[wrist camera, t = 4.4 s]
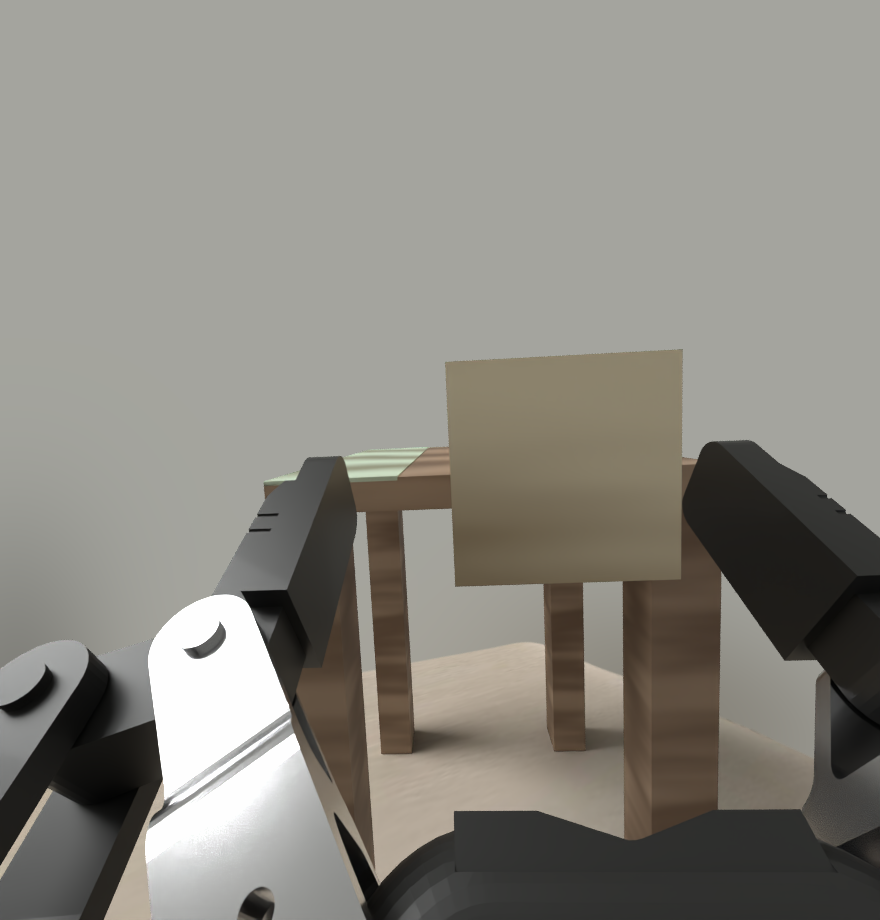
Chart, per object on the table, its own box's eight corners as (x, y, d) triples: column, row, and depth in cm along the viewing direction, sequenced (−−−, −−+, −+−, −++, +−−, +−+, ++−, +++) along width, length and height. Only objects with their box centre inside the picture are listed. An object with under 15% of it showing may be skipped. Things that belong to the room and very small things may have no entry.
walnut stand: (713, 1066, 20) (723, 461, 17) (314, 1060, 20) (263, 481, 18) (575, 726, 41) (570, 440, 39) (386, 730, 42) (368, 449, 40)
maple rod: (681, 579, 5) (682, 349, 5) (455, 586, 5) (445, 362, 5) (485, 446, 37) (484, 414, 37) (453, 447, 37) (452, 415, 37)
